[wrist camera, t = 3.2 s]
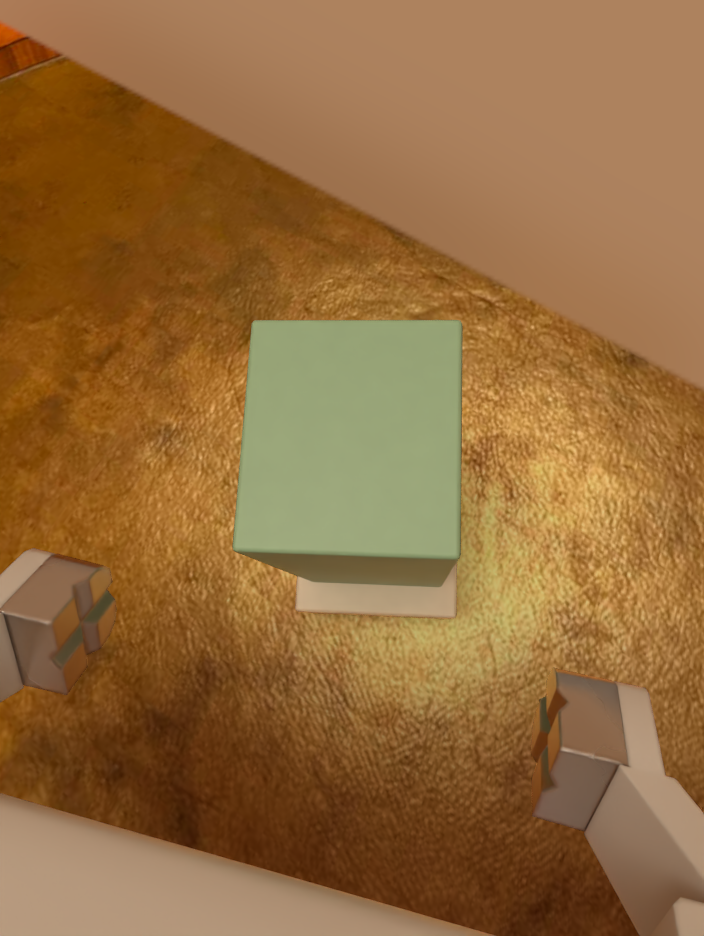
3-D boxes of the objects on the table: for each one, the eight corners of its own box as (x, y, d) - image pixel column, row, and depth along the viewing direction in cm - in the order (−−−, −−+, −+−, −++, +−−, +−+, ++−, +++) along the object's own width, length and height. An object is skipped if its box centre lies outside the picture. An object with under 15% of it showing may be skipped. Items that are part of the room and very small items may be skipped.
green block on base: (452, 445, 22) (486, 274, 11) (450, 619, 20) (487, 614, 10) (321, 442, 22) (232, 276, 12) (311, 612, 21) (201, 601, 10)
